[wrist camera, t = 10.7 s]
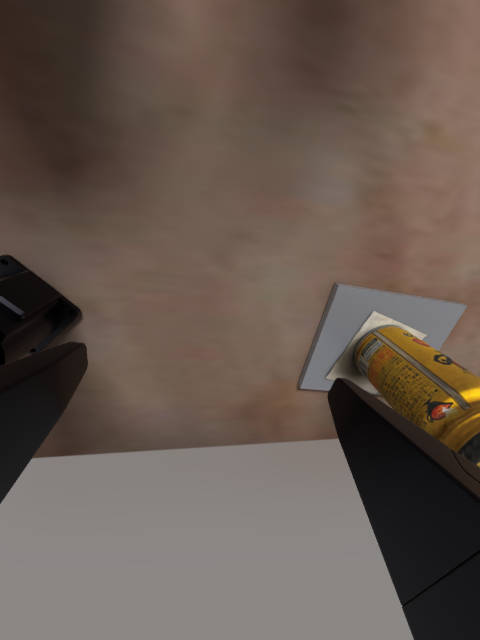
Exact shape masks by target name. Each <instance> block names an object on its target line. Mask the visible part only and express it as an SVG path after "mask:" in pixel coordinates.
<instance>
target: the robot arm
mask: <svg viewBox="0 0 480 640" xmlns="http://www.w3.org/2000/svg"><path fill="white" fill-rule="evenodd" d="M5 260H7V261H8V263H9V264H7V263H6V262H5ZM71 310H72V311H74V312H75V314H74V313H72V312H71ZM79 315H80V309H79V308H78V307H76V306H75V305H74V304H73V303H71V302H70V301H69V300H67V299H66V298H65V297H64V296H62V295H61V294H60V293H59V292H58V291H56V290H55V289H54V288H53V287H51V286H50V285H49V284H47V283H46V282H45V281H43V280H42V279H41V278H40V277H38V276H37V275H36V274H34V273H33V272H32V271H30V270H29V269H27V268H26V267H25V266H23V265H22V264H21V263H20V262H18V261H17V260H16V259H14V258H13V257H12V256H10V255H1V256H0V503H1V502H2V500H3V499H4V498H5V496H6V495H7V493H8V492H9V491H10V489H11V488H12V486H13V485H14V483H15V482H16V480H17V479H18V477H19V476H20V474H21V473H22V472H23V470H24V469H25V467H26V466H27V464H28V463H29V461H30V460H31V459H32V457H33V456H34V454H35V453H36V451H37V450H38V449H39V447H40V446H41V444H42V443H43V441H44V440H45V438H46V437H47V436H48V434H49V433H50V431H51V430H52V428H53V427H54V425H55V424H56V423H57V421H58V420H59V418H60V417H61V415H62V414H63V412H64V410H65V409H66V407H67V405H68V403H69V401H70V400H71V398H72V396H73V394H74V392H75V390H76V388H77V387H78V385H79V383H80V381H81V379H82V377H83V375H84V374H85V372H86V370H87V366H88V360H87V348H86V345H85V344H84V343H79V342H68V343H65V344H62V345H59V346H56V347H54V348H51V349H48V350H45V351H42V350H43V349H44V348H45V347H46V346H47V345H48V344H49V343H50V342H51V341H52V340H53V339H54V338H55V337H56V336H57V335H59V334H60V333H61V332H62V331H63V330H64V329H65V328H66V327H67V326H68V325H69V324H70V323H71V322H72V321H73V320H74V319H76V318H77V317H78V316H79ZM34 348H35V349H36V350H35V349H34ZM40 351H42V352H40ZM27 352H29V353H31V354H34V355H31V356H28V357H25V358H22V359H20V358H21V357H22V356H23V355H25V354H26V353H27ZM18 359H19V360H18ZM328 402H329V405H330V409H331V413H332V416H333V420H334V424H335V428H336V431H337V435H338V438H339V441H340V443H341V446H342V449H343V451H344V454H345V457H346V459H347V462H348V465H349V467H350V470H351V473H352V475H353V478H354V480H355V483H356V486H357V489H358V491H359V494H360V497H361V499H362V502H363V505H364V507H365V510H366V513H367V515H368V518H369V521H370V523H371V526H372V529H373V531H374V534H375V537H376V539H377V542H378V545H379V547H380V550H381V552H382V555H383V558H384V561H385V563H386V566H387V569H388V571H389V574H390V576H391V579H392V582H393V584H394V587H395V590H396V592H397V595H398V598H399V600H400V603H401V605H402V608H403V612H404V614H405V617H406V619H407V622H408V625H409V627H410V630H411V633H412V636H413V638H414V640H480V468H479V467H478V466H476V465H475V464H473V463H472V462H470V461H469V460H467V459H466V458H464V457H463V456H461V455H460V454H458V453H457V452H455V451H454V450H453V449H450V448H449V447H448V446H447V445H445V444H444V443H442V442H441V441H439V440H438V439H436V438H435V437H433V436H432V435H430V434H429V433H427V432H426V431H424V430H423V429H421V428H420V427H418V426H417V425H415V424H414V423H413V422H411V421H410V420H408V419H407V418H405V417H404V416H402V415H401V414H399V413H398V412H396V411H395V410H393V409H392V408H390V407H389V406H387V405H386V404H384V403H383V402H381V401H380V400H378V399H377V398H376V397H374V396H373V395H371V394H370V393H368V392H367V391H365V390H364V389H362V388H361V387H359V386H358V385H356V384H355V383H353V382H352V381H350V380H349V379H346V378H336V379H335V380H334V382H333V384H332V386H331V388H330V390H329V393H328Z"/></svg>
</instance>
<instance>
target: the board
mask: <svg viewBox="0 0 480 640" xmlns="http://www.w3.org/2000/svg"><path fill="white" fill-rule="evenodd" d="M466 307H467V305H464V304H462V303H458V302H452V301H446V300H440V299H434V298H427V297H421V296H415V295H409V294H403V293H396V292H390V291H384V290H378V289H372V288H366V287H359V286H353V285H347V284H341V283H334V286H333V289H332V292H331V294H330V297H329V300H328V303H327V305H326V308H325V311H324V313H323V316H322V319H321V322H320V324H319V327H318V330H317V333H316V335H315V338H314V341H313V343H312V346H311V349H310V352H309V354H308V357H307V360H306V363H305V365H304V368H303V371H302V373H301V376H300V379H299V382H298V385H299V387H300V389H312V390H326V391H329V390H330V388H331V386H332V384H333V382H334V380H330V379H327V378H326V377H327V376H328V374H329V373H330V372H331V370H332V369H333V367H334V365H335V364H336V362H337V361H338V360H339V358H340V357H341V356H342V355H343V354H344V352H345V350H346V348H347V347H348V346H349V344H350V342H351V341H352V340H353V338H354V337H355V335H356V334H357V333H358V332H359V331H360V329H361V327H362V326H363V325H364V323H365V322H366V321H367V319H368V318H369V317H370V316H371V314H372V313H373V311H375V312H377V313H379V314H382V315H384V316H386V317H388V318H391V319H393V320H395V321H397V322H400V323H402V324H404V325H406V326H408V327H411V328H413V329H415V330H417V331H419V332H422V333H424V334H426V335H427V336H425V337H424V338H423V339H422V341H424V342H425V343H427V344H428V345H429V346H431V347H433V348H434V349H436V350H439V349H440V347H441V346H442V344H443V343H444V341H445V339H446V338H447V336H448V335H449V333H450V332H451V330H452V329H453V327H454V325H455V324H456V322H457V321H458V319H459V318H460V316H461V315H462V313H463V311H464V310H465V308H466ZM365 391H366V390H365ZM367 392H368V393H370V394H375V393H371V392H369V391H367ZM376 394H378V395H380V393H379V392H377V393H376Z"/></svg>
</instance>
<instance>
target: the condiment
mask: <svg viewBox="0 0 480 640" xmlns="http://www.w3.org/2000/svg"><path fill="white" fill-rule="evenodd" d="M425 336H427V335H426V334H424V333H422V332H419V331H417V330H415V329H413V328H411V327H408V326H406V325H404V324H402V323H400V322H397V321H395V320H393V319H391V318H388V317H386V316H384V315H382V314H379V313H377V312H375V311H373V313H372V314H371V316H370V317H369V318H368V319H367V321H366V322H365V323H364V325H363V326H362V327H361V329H360V331H359V332H358V333H357V334H356V335H355V337H354V338H353V340H352V341H351V342H350V344H349V346H348V347H347V348H346V350H345V352H344V354H343V355H342V356H341V357H340V358H339V360H338V361H337V362H336V364H335V365H334V367H333V369H332V370H331V372H330V373H329V374H328V376H327V377H326V378H327V379H330V380H335V379H336V378H346V379H349V380H350V381H352V382H353V383H355V384H356V385H358V386H359V387H361V388H362V389H364V390H366V391H369V392H371V393H375V394H376V393H377V392H379V393H380V395H381V396H382V397H383V398H384V399H385V400H386V401H387V402H388V404H389V405H390V406H391V407H392V408H393V409H394V410H395V411H396V412H398V413H399V414H401V415H402V416H404V417H405V418H407V419H408V420H410V421H411V422H413V423H414V424H415V425H417V426H418V427H420V428H421V429H423V430H424V431H426V432H427V433H429V434H430V435H432V436H433V437H435V438H436V439H438V440H439V441H441V442H442V443H444V444H445V445H447V446H448V447H449V448H450V449H453V450H454V451H455V452H457V453H458V454H460V455H461V456H463V457H464V458H466V459H467V460H469V461H470V462H472V463H473V464H475V465H476V466H478V467H479V468H480V378H479V377H478V376H476V375H474V374H473V373H471V372H470V371H468V370H467V369H465V368H463V367H462V366H460V365H459V364H457V363H456V362H454V361H452V360H451V359H450V358H449V357H447V356H445V355H443V354H442V353H440V352H439V351H438V350H436V349H434V348H433V347H431V346H429V345H428V344H427V343H425V342H424V341H422V339H423V338H424V337H425Z"/></svg>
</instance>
